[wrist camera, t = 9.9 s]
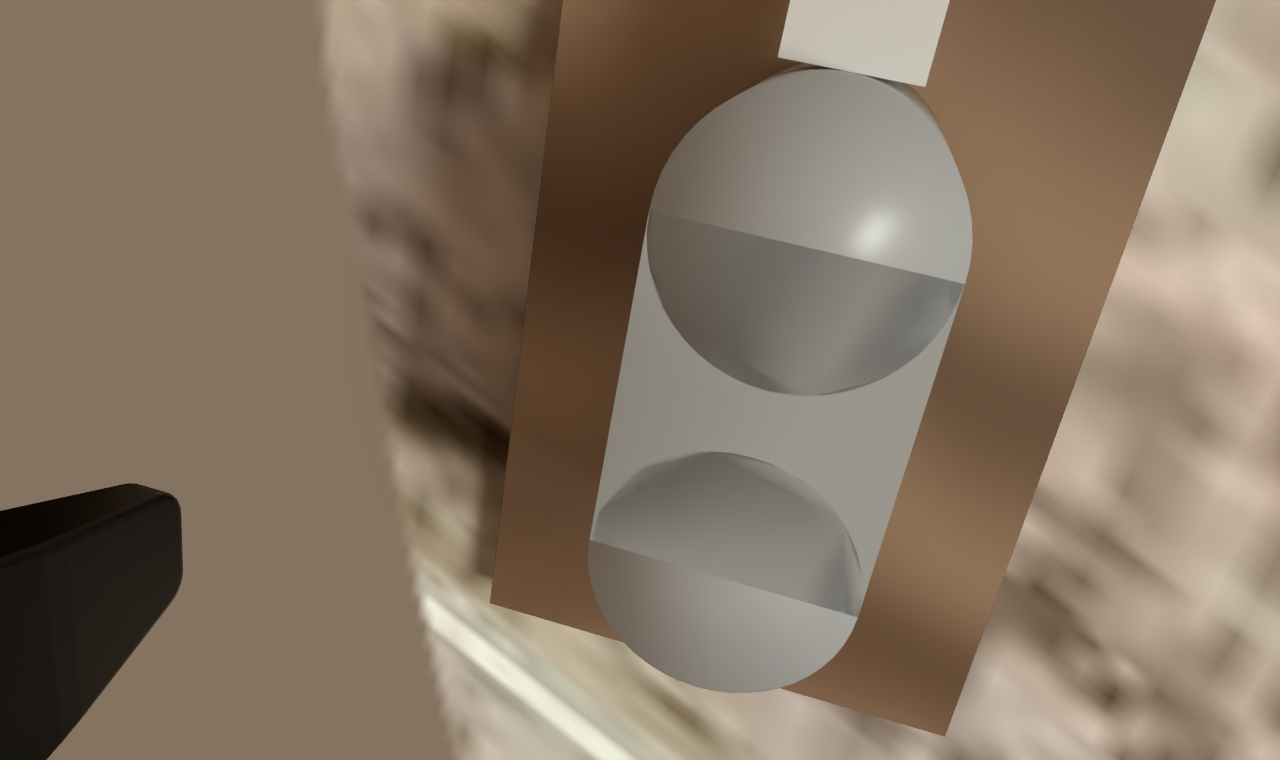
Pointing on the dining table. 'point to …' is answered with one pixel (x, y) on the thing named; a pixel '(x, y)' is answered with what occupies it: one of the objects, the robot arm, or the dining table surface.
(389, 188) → the dining table surface
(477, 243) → the dining table surface
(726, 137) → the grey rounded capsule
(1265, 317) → the dining table surface
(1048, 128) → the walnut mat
